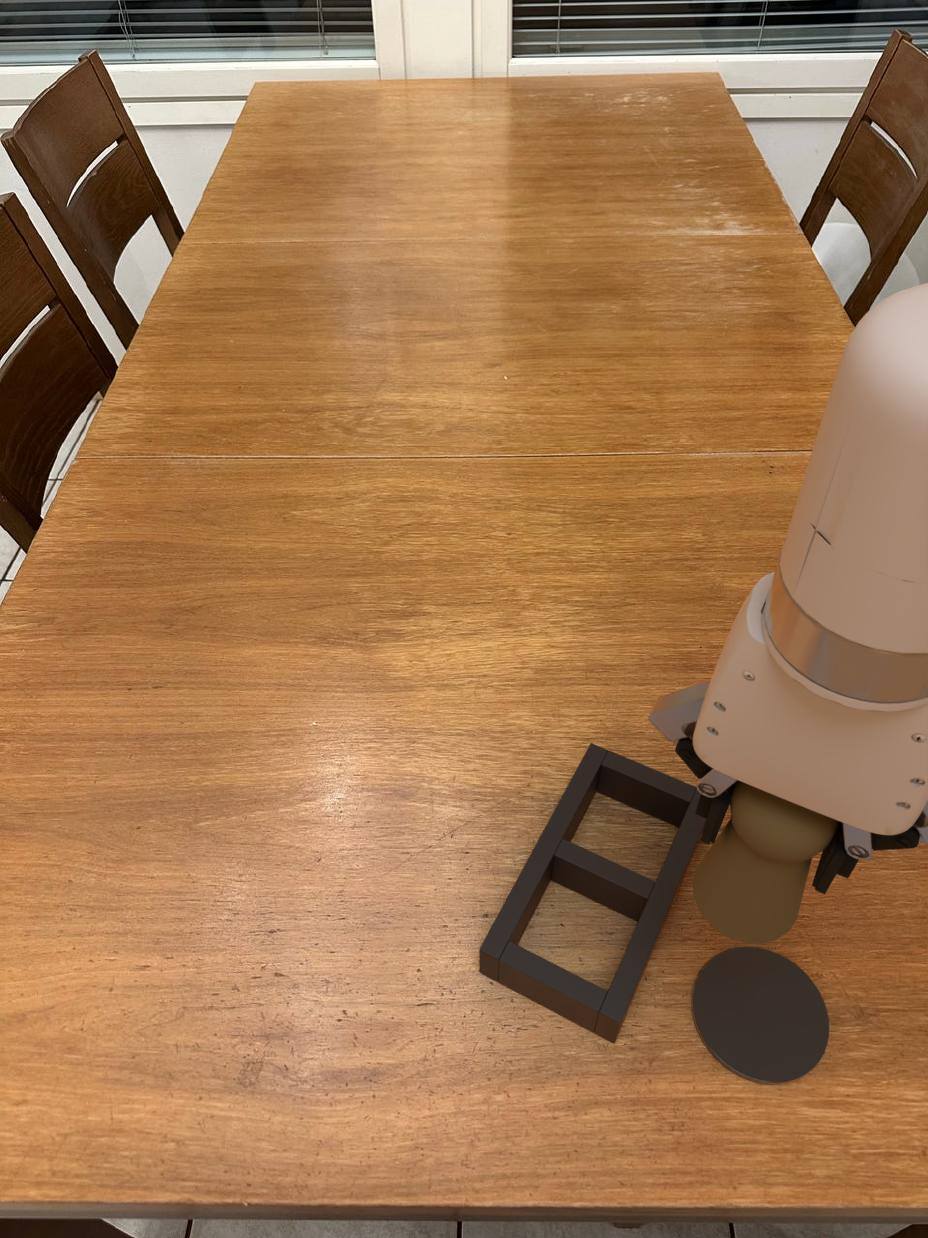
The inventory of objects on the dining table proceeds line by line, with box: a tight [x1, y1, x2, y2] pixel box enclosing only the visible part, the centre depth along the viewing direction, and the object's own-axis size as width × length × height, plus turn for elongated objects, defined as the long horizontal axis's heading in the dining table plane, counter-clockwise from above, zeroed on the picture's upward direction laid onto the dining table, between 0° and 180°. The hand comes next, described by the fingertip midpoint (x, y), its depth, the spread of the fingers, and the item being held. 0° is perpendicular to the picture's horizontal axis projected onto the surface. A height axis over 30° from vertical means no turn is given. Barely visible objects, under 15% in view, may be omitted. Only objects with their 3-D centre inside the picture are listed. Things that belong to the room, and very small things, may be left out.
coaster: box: [691, 946, 830, 1086], centre depth 64 cm, size 9×9×1 cm
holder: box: [478, 742, 707, 1044], centre depth 69 cm, size 10×19×4 cm, turn 152°
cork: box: [691, 780, 839, 945], centre depth 50 cm, size 6×6×11 cm
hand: (769, 843), depth 50 cm, fingers closed on cork, 5 cm apart
